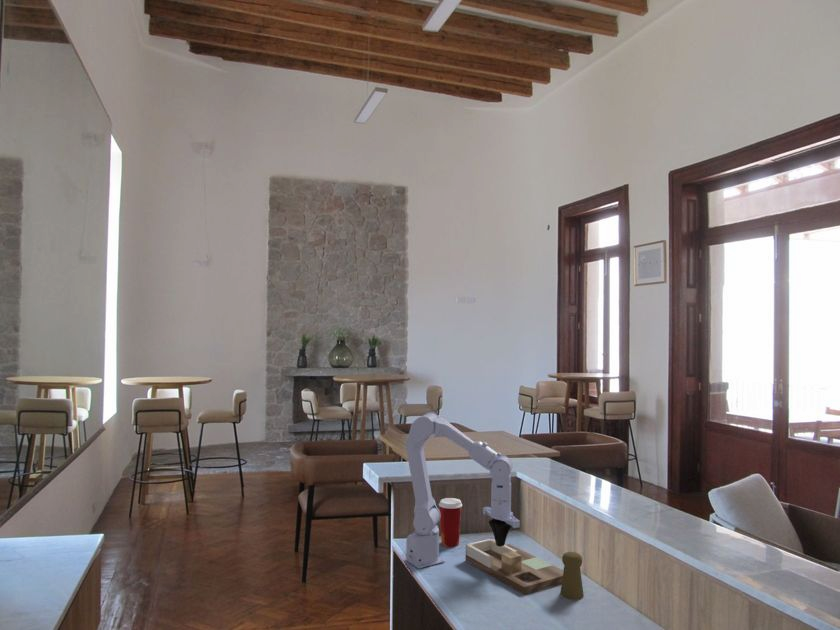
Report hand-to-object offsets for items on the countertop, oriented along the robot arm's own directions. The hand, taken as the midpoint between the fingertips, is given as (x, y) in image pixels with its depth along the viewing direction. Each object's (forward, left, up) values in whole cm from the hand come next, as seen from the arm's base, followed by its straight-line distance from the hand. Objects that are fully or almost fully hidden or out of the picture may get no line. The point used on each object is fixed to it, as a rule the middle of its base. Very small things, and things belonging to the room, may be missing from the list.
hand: (500, 545), depth 181 cm
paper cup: (-1, +24, -7) cm, 26 cm away
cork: (+6, -23, -7) cm, 24 cm away
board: (+4, -3, -7) cm, 8 cm away
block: (0, -5, -5) cm, 7 cm away
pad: (+9, -6, -7) cm, 13 cm away
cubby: (0, +4, -5) cm, 7 cm away
